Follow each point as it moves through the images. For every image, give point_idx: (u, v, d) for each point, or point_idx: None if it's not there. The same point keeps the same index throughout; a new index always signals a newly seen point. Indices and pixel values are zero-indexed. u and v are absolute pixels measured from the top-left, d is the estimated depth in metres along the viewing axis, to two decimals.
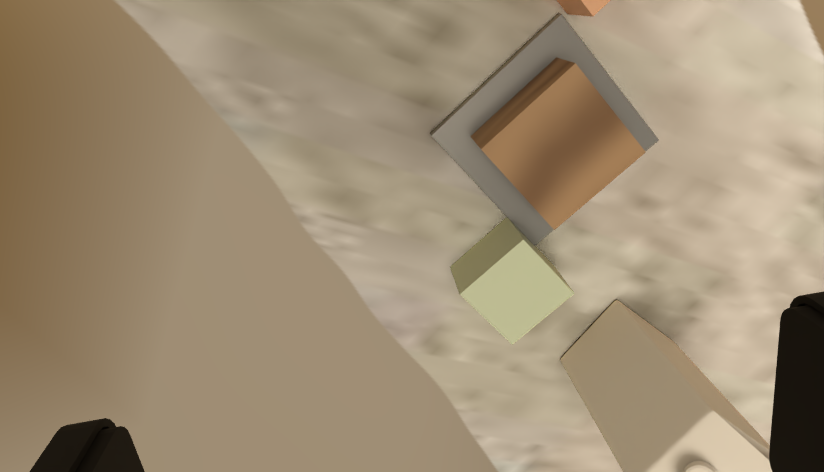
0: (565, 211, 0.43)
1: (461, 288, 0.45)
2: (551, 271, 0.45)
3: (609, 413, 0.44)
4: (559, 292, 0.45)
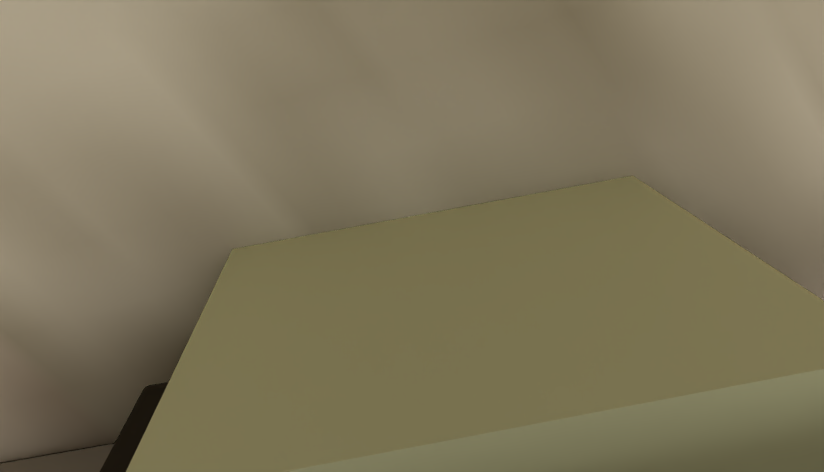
0: None
1: None
2: None
3: None
4: None
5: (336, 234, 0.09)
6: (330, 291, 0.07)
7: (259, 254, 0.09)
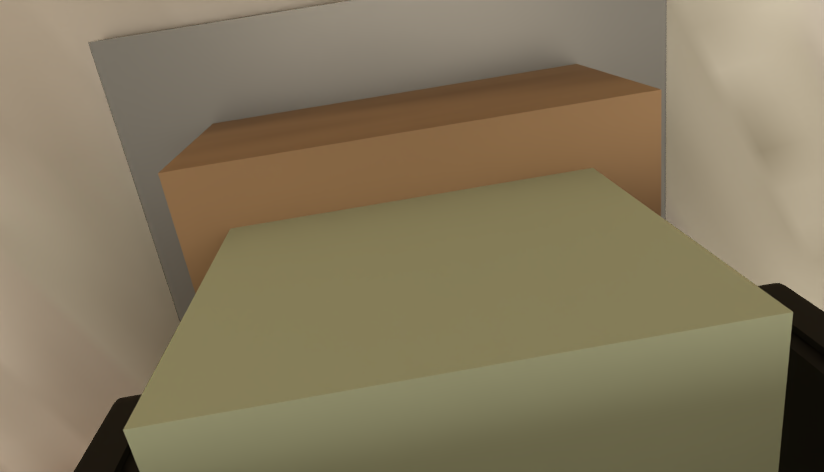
0: (575, 136, 0.10)
1: None
2: None
3: None
4: None
5: (324, 218, 0.10)
6: (316, 265, 0.08)
7: (253, 235, 0.10)
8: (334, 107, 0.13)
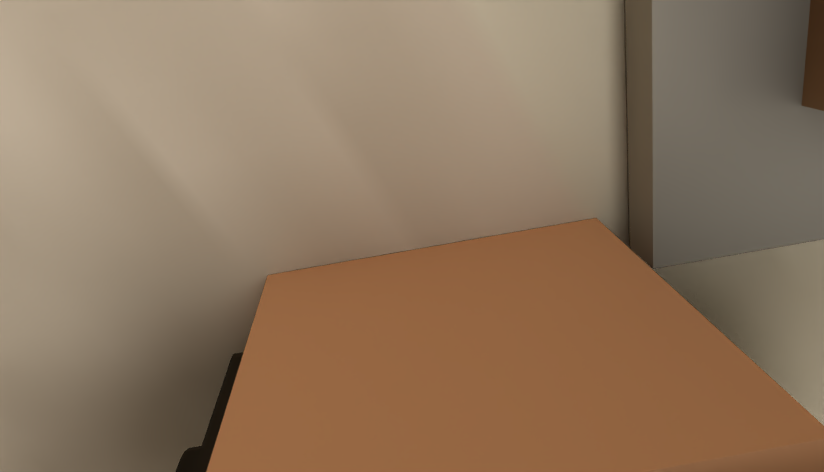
0: None
1: None
2: None
3: None
4: None
5: None
6: None
7: None
8: None
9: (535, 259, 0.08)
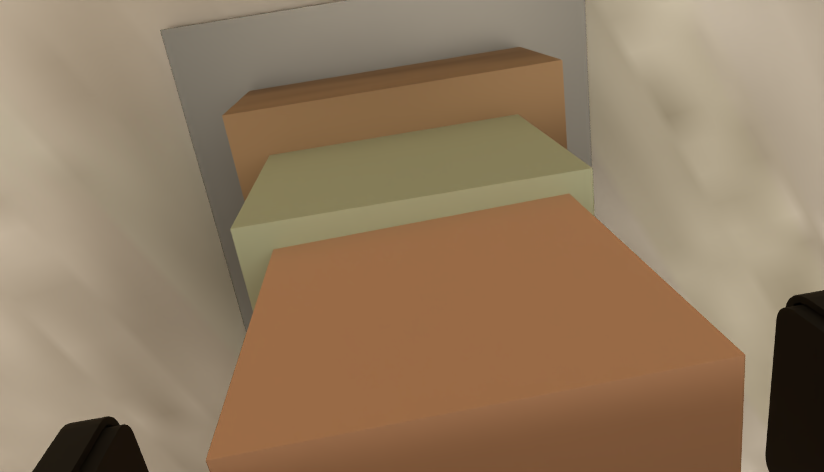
0: (504, 92, 0.15)
1: None
2: None
3: None
4: None
5: (333, 147, 0.14)
6: (330, 167, 0.13)
7: (287, 157, 0.14)
8: (339, 78, 0.18)
9: (512, 229, 0.09)
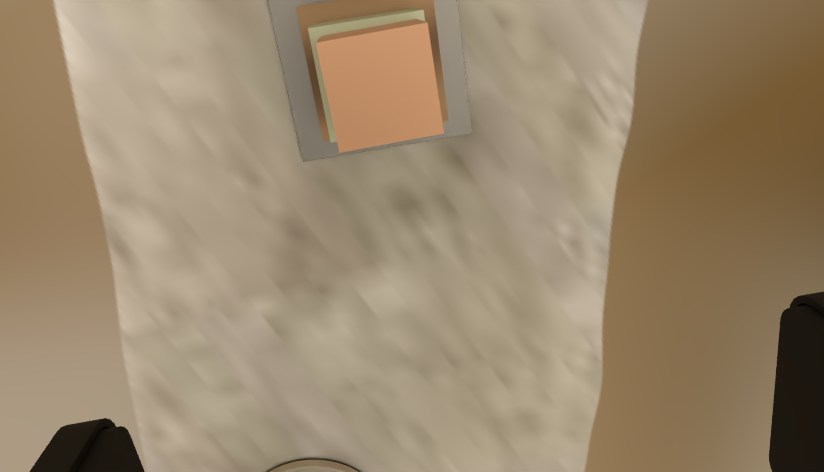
0: None
1: None
2: (320, 79, 0.33)
3: None
4: None
5: (339, 20, 0.36)
6: (338, 21, 0.34)
7: (321, 23, 0.36)
8: None
9: (394, 23, 0.31)
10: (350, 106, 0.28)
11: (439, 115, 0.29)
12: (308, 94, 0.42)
